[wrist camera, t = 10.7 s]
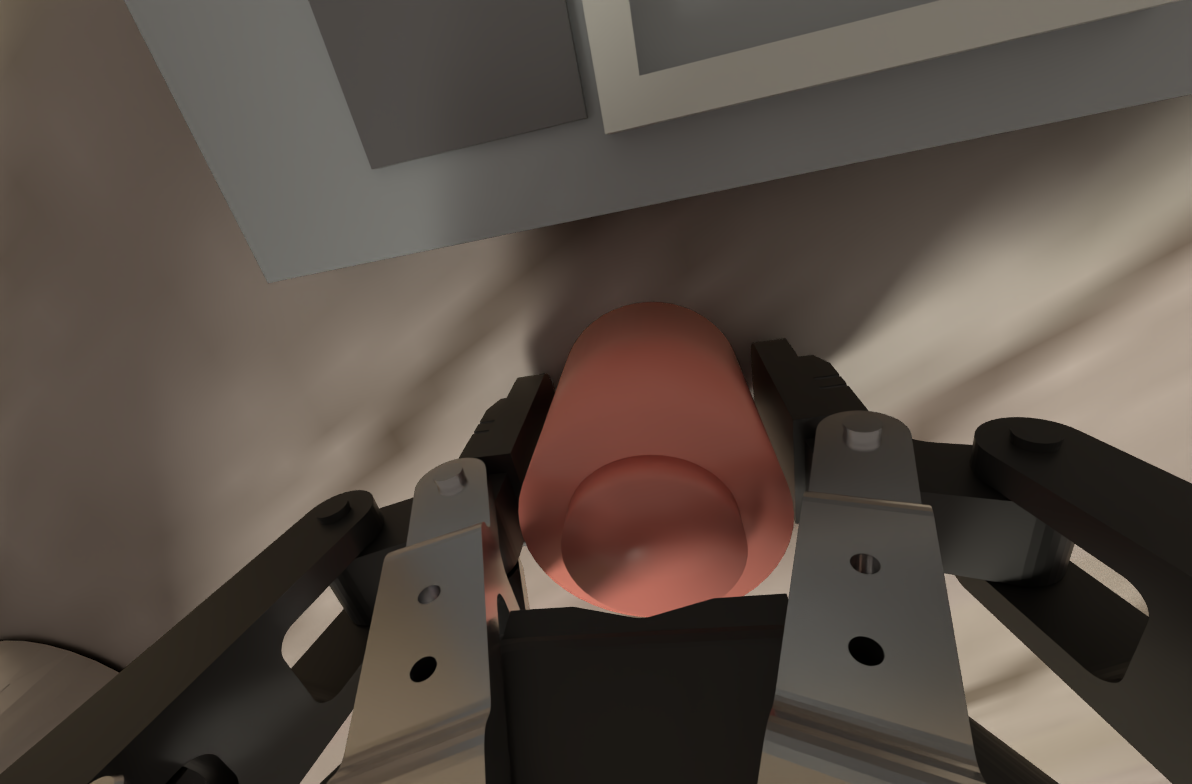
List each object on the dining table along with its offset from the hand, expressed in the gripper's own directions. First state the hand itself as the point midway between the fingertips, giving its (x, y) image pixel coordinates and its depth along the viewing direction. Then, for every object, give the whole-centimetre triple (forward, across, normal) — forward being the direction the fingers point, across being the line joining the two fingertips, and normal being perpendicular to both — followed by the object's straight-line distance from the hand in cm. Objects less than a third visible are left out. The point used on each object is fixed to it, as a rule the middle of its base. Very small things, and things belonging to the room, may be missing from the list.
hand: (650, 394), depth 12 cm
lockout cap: (0, 0, 0) cm, 0 cm away
